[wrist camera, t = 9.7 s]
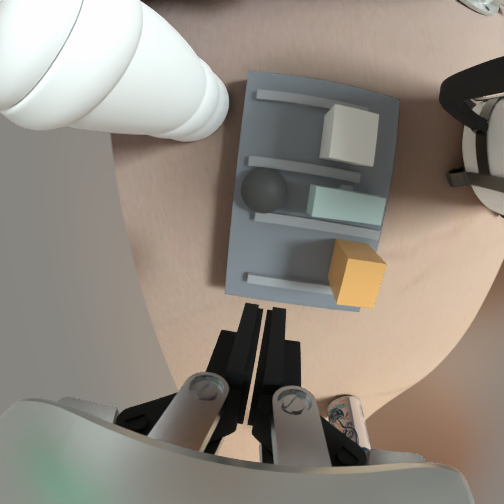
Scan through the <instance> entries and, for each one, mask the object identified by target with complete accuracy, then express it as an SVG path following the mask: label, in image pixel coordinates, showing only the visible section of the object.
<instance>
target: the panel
mask: <svg viewBox="0 0 504 504" xmlns="http://www.w3.org/2000/svg"><path fill="white" fill-rule="evenodd" d="M335 104H338V105H342V106H347V107H351V108H356V109H360V110H364V111H368V112H372V113H376V114H379V122H378V132H377V141H376V149H375V157H374V164H373V167H372V166H361V165H352V164H348V163H343V162H338V161H332V160H327V159H321V158H319V156H320V148H321V140H322V132H323V123H324V116H325V114H326V113H327V112H328V111H329V110H330V109H331V108H332V107H333V106H334V105H335ZM399 104H400V99H397V98H393V97H390V96H387V95H384V94H380V93H377V92H373V91H369V90H366V89H362V88H358V87H354V86H349V85H345V84H340V83H336V82H331V81H325V80H320V79H314V78H308V77H301V76H294V75H287V74H278V73H268V72H255V71H248V79H247V86H246V94H245V102H244V110H243V118H242V126H241V134H240V143H239V151H238V160H237V169H236V179H235V188H234V198H233V208H232V218H231V228H230V239H229V249H228V261H227V272H226V284H225V294H228V295H234V296H240V297H247V298H253V299H260V300H267V301H273V302H281V303H288V304H295V305H303V306H311V307H319V308H327V309H336V310H345V311H354V312H359V310H360V307H356V306H347V305H338V304H336V302H335V299H334V295H333V292H332V289H331V286H330V283H329V280H328V278H327V277H328V273H329V268H330V264H331V259H332V255H333V250H334V245H335V240H336V239H342V240H348V241H354V242H360V243H366V244H369V245H370V246H371V248H372V249H373V250H374V251H375V252H376V251H377V247H378V243H379V239H380V234H381V230H382V225H383V221H384V216H385V211H386V206H387V201H388V195H389V189H390V184H391V177H392V171H393V164H394V156H395V148H396V140H397V130H398V119H399ZM310 184H315V185H321V186H327V187H333V188H339V189H345V190H351V191H356V192H362V193H367V194H372V195H377V196H380V197H383V198H386V202H385V207H384V212H383V217H382V222H381V225H374V224H367V223H360V222H352V221H345V220H337V219H329V218H321V217H313V216H311V215H309V214H308V213H307V212H306V211H307V204H308V198H309V191H310Z"/></svg>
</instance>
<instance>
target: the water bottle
mask: <svg viewBox="0 0 504 504" xmlns="http://www.w3.org/2000/svg"><path fill="white" fill-rule="evenodd" d="M228 108H229V96H228V92H227V89H226V87H225V85H224V84H223V82H222V81H221V80H220V79H219V78H218V76H216V75H215V74H214V73H213V72H212V70H211V69H210V67H209V66H208V65H207V64H206V63H205V62H204V61H203V60H202V59H200V58H199V57H198V56H197V55H196V54H195V52H194V51H193V49H192V48H191V47H190V46H189V44H188V43H187V42H186V41H185V40H184V39H183V37H182V36H181V35H180V34H179V33H178V32H177V31H176V30H175V29H174V28H173V27H172V26H171V25H170V24H169V23H168V22H167V21H166V20H165V19H164V18H162V17H161V16H160V15H159V14H158V13H156V12H155V11H154V10H153V9H151V8H150V7H149V6H147V5H146V4H144V3H143V2H141V1H140V0H0V113H1V114H2V115H4V116H5V117H6V118H8V119H9V120H10V121H11V122H13V123H14V124H16V125H18V126H20V127H23V128H26V129H30V130H37V131H43V130H44V131H45V130H53V129H58V128H61V127H69V128H74V129H81V130H89V131H97V132H108V133H120V134H139V135H146V134H147V135H150V136H153V137H157V138H166V139H173V140H177V141H184V142H191V141H197V140H201V139H203V138H206V137H208V136H209V135H211V134H212V133H214V132H215V131H216V130H217V129H218V128H219V127H220V126H221V124H222V123H223V121H224V120H225V118H226V115H227V113H228Z"/></svg>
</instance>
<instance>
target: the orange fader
mask: <svg viewBox="0 0 504 504" xmlns="http://www.w3.org/2000/svg"><path fill="white" fill-rule="evenodd" d="M386 265H387V264H386V263H385V262H384V261H383V260H382V259H381V257H380V256H379V255H378V254H377V253H376V252H375V251H374V250H373V249H372V248H371V246H370V245H369V244H366V243H360V242H354V241H348V240H342V239H336V240H335V245H334V250H333V255H332V259H331V264H330V268H329V273H328V277H327V278H328V280H329V283H330V286H331V289H332V292H333V295H334V299H335V302H336V304H338V305H347V306H356V307H365V308H373V307H374V304H375V301H376V298H377V295H378V292H379V289H380V285H381V282H382V279H383V275H384V272H385V268H386Z"/></svg>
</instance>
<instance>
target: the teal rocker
mask: <svg viewBox="0 0 504 504" xmlns="http://www.w3.org/2000/svg"><path fill="white" fill-rule="evenodd" d="M385 202H386V198H383V197H380V196H377V195H372V194H367V193H362V192H356V191H351V190H345V189H339V188H333V187H327V186H321V185H315V184H310V191H309V198H308V204H307V211H306V212H307V213H308V214H309V215H311V216H313V217H321V218H329V219H337V220H345V221H352V222H360V223H367V224H374V225H381V222H382V217H383V212H384V207H385Z"/></svg>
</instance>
